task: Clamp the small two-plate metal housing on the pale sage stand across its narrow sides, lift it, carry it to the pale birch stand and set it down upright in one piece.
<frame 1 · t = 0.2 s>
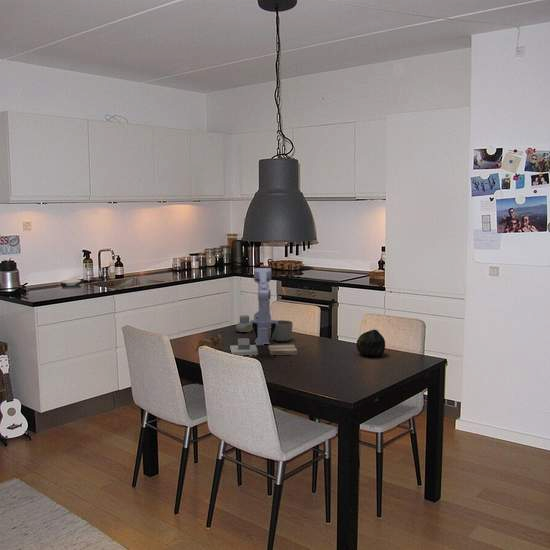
hand: (264, 337, 319), 10 cm above the table, tool pointing down, fingers open, 7 cm apart
squash: (371, 355, 322), on the table
planter: (281, 341, 354), on the table
fried chicken drumstick: (209, 351, 331), on the table
air freshener: (244, 332, 376), on the table
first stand: (243, 352, 326), on the table
housing: (243, 348, 326), point 2 cm above the table, touching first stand
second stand: (282, 352, 328), on the table
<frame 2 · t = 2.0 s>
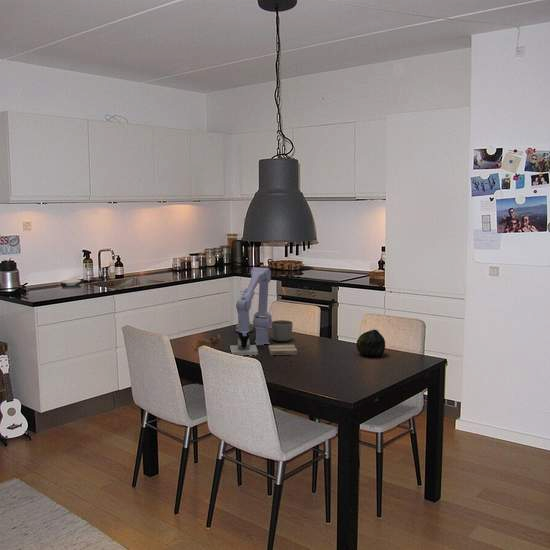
hand: (243, 346, 326), 4 cm above the table, tool pointing down, fingers closed on housing, 4 cm apart
housing: (243, 348, 326), point 2 cm above the table, touching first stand, gripper
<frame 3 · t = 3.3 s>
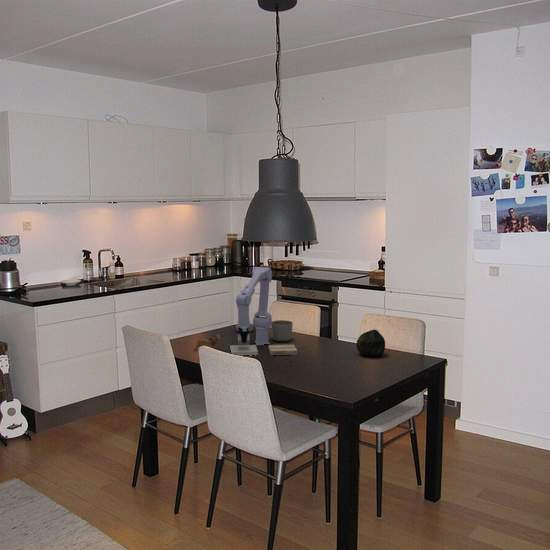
hand: (243, 341, 325), 6 cm above the table, tool pointing down, fingers closed on housing, 4 cm apart
housing: (243, 343, 325), point 5 cm above the table, touching gripper
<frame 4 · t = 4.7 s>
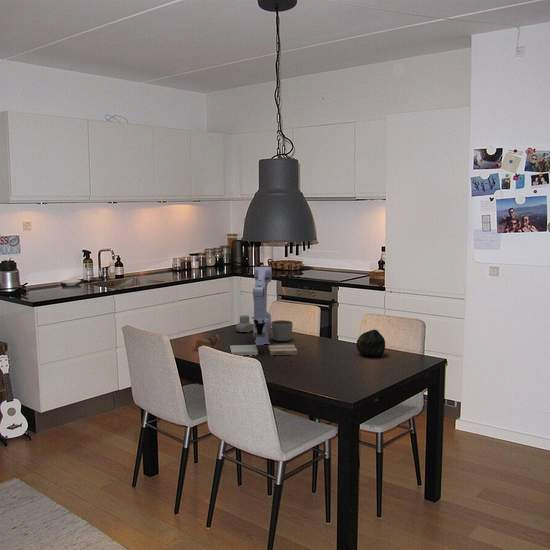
hand: (259, 333, 325), 10 cm above the table, tool pointing down, fingers closed on housing, 4 cm apart
housing: (258, 336, 326), point 9 cm above the table, touching gripper
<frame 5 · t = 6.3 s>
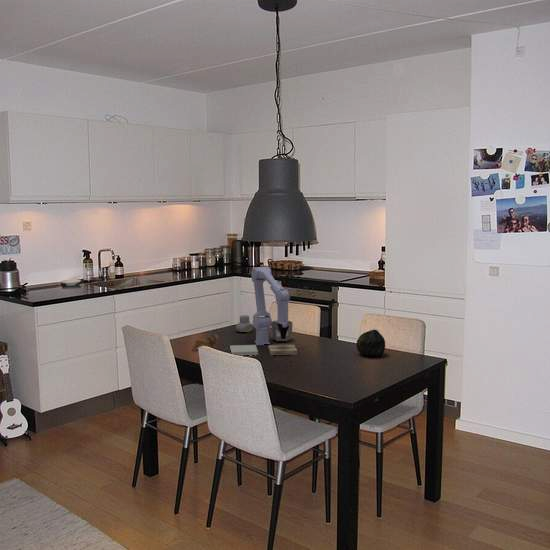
hand: (282, 337, 327), 8 cm above the table, tool pointing down, fingers closed on housing, 4 cm apart
housing: (282, 339, 327), point 7 cm above the table, touching gripper
when the fingers open (5 cm above the table, at t = 7.8 s): housing drops 1 cm, resting on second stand.
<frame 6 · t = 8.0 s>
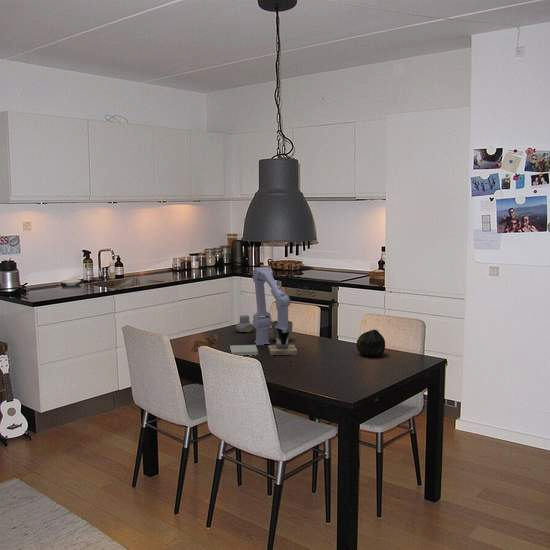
hand: (282, 342, 327), 5 cm above the table, tool pointing down, fingers open, 6 cm apart
housing: (282, 347, 327), point 2 cm above the table, touching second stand
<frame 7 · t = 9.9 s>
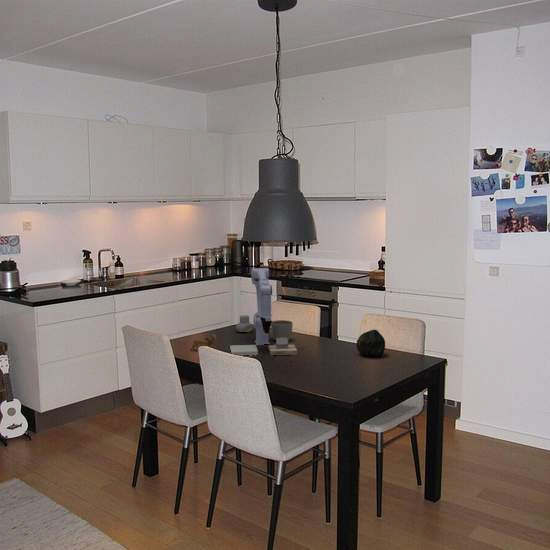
hand: (266, 331, 330), 10 cm above the table, tool pointing down, fingers open, 7 cm apart
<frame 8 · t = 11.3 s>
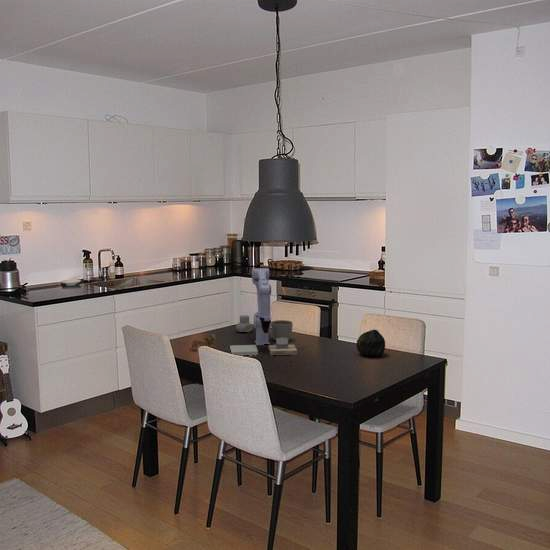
hand: (265, 331, 331), 10 cm above the table, tool pointing down, fingers open, 7 cm apart
at the end: housing inside the target area on the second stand (0.4 cm from its centre), point 2.5 cm above the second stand's base; housing tilted 0°; the gripper is holding nothing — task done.
